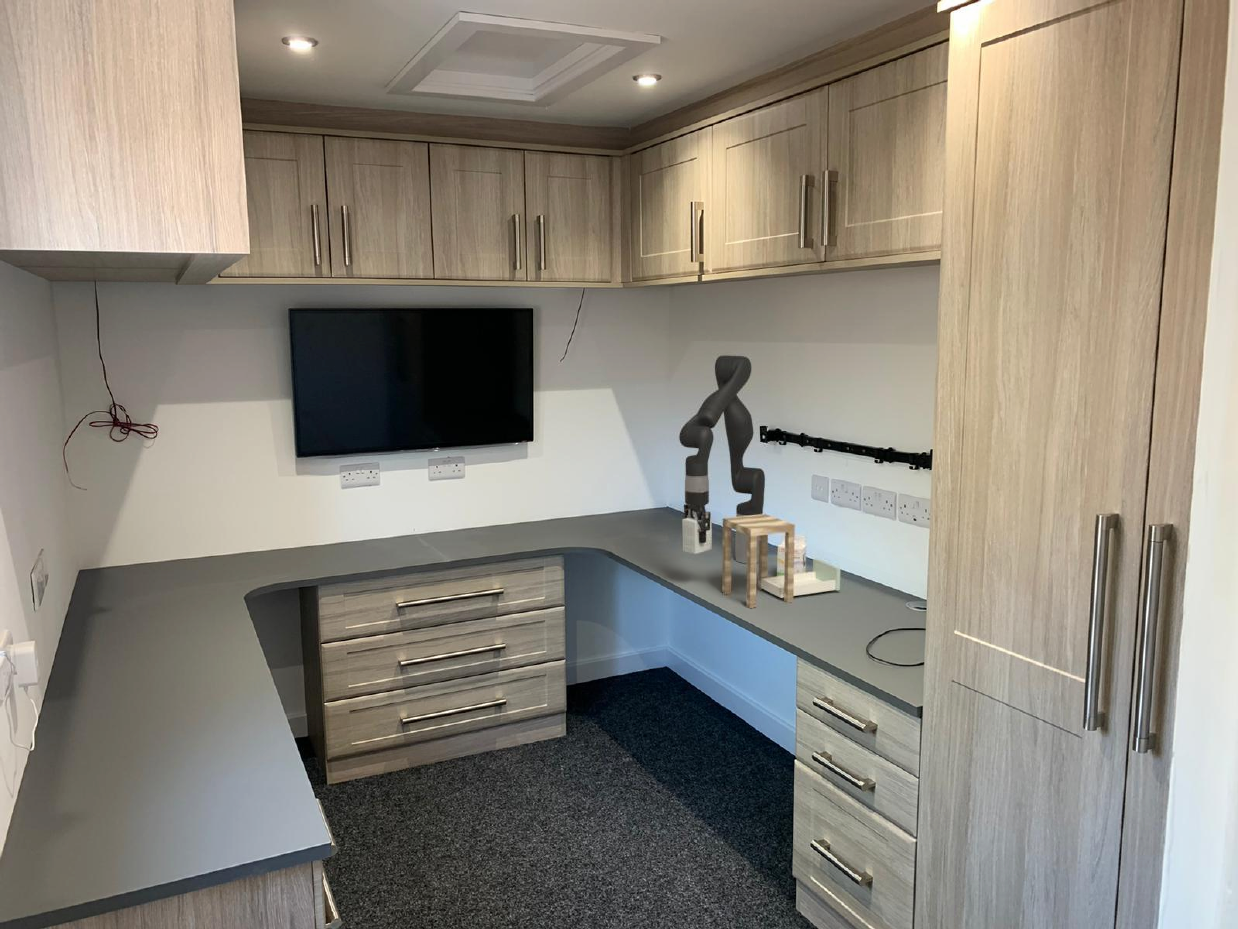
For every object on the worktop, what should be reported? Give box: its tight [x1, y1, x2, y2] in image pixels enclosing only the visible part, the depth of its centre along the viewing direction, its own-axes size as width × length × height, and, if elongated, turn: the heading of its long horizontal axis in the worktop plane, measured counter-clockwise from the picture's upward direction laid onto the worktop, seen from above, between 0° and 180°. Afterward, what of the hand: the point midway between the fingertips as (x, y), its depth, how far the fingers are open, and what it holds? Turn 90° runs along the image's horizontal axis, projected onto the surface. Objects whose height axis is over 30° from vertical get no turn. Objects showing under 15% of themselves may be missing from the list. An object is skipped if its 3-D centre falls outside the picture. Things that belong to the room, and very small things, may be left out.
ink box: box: [776, 533, 807, 576], centre depth 304 cm, size 9×5×15 cm, turn 62°
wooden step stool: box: [721, 513, 796, 609], centre depth 284 cm, size 17×15×24 cm
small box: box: [681, 517, 713, 555], centre depth 295 cm, size 8×6×10 cm
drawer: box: [761, 557, 841, 599], centre depth 291 cm, size 13×21×7 cm, turn 113°
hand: (697, 539), depth 295 cm, fingers closed on small box, 7 cm apart
